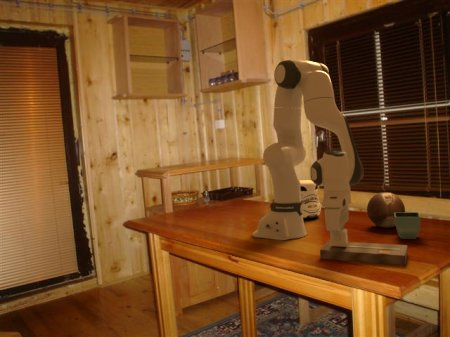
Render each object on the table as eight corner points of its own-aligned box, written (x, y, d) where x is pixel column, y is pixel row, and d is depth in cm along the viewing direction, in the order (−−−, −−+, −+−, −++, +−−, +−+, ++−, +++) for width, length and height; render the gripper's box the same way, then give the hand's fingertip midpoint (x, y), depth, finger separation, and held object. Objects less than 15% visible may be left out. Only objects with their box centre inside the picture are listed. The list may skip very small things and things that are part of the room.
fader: (330, 245, 138) (330, 231, 138) (333, 242, 142) (332, 228, 141) (345, 246, 136) (345, 231, 136) (347, 243, 140) (347, 229, 139)
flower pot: (395, 240, 153) (394, 216, 152) (394, 234, 161) (393, 212, 160) (421, 241, 149) (420, 216, 149) (419, 235, 158) (418, 212, 157)
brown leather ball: (379, 232, 165) (377, 196, 164) (361, 225, 180) (359, 191, 179) (413, 229, 167) (412, 193, 166) (392, 222, 182) (391, 188, 181)
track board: (320, 258, 136) (320, 249, 136) (328, 249, 147) (328, 240, 147) (405, 265, 124) (405, 255, 124) (407, 254, 135) (407, 244, 135)
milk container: (315, 222, 192) (313, 184, 191) (280, 220, 201) (278, 184, 199) (325, 215, 207) (323, 179, 206) (293, 213, 216) (291, 180, 214)
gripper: (334, 193, 148) (335, 231, 149) (320, 203, 130) (322, 245, 131) (352, 193, 146) (353, 231, 147) (340, 203, 127) (342, 247, 128)
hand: (339, 238), depth 139 cm, fingers closed on fader, 4 cm apart
